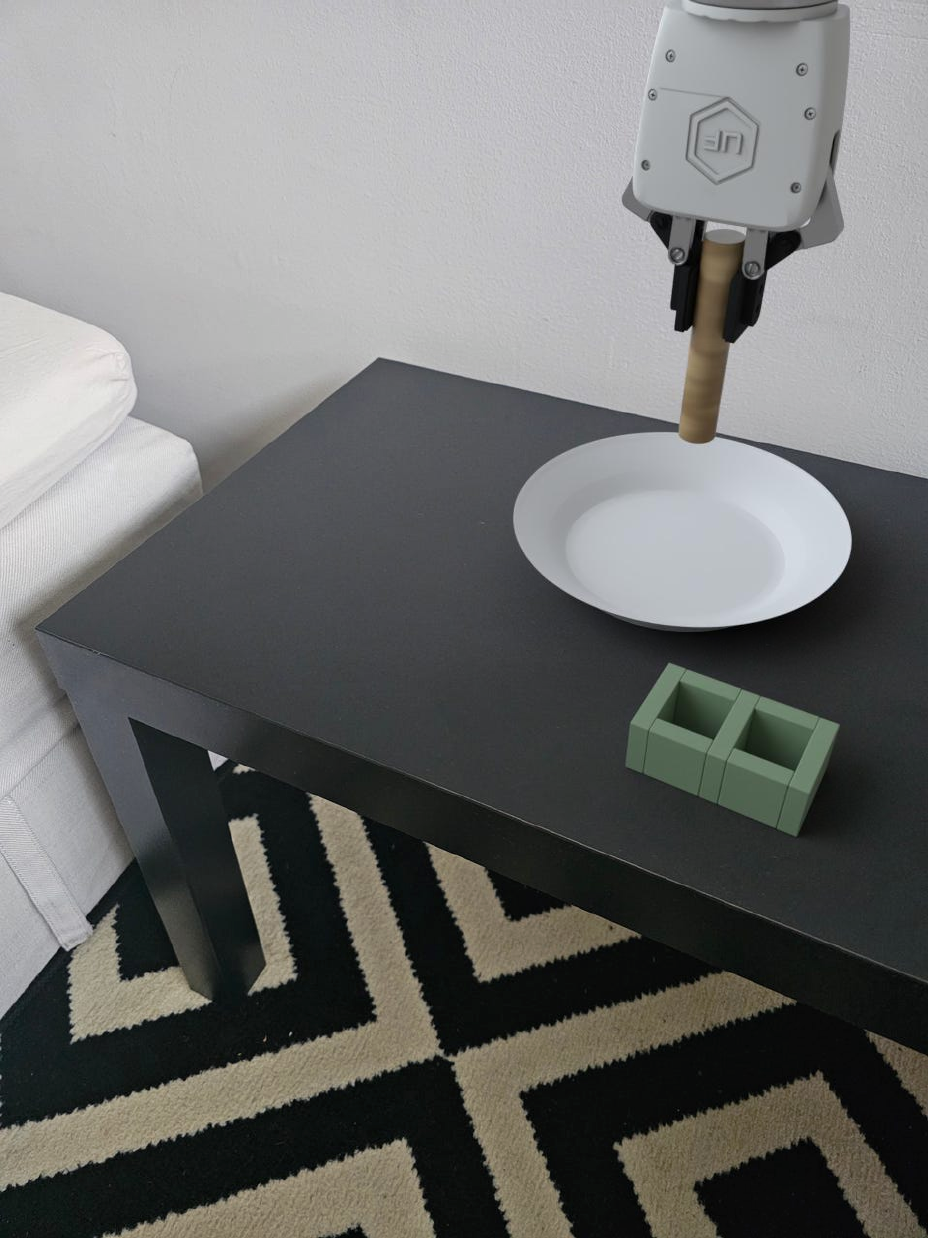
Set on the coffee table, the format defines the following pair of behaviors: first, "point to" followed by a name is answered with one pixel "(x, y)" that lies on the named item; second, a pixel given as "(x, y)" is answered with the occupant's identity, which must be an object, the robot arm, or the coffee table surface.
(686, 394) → the stick
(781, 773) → the holder
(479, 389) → the coffee table surface
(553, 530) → the white plate
